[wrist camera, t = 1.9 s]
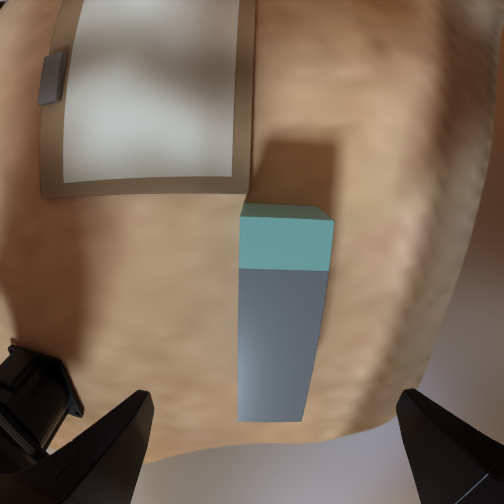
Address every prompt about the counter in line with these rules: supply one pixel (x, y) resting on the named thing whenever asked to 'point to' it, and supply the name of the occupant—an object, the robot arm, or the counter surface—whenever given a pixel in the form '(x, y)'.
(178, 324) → the counter surface
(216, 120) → the clipboard
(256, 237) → the teal-capped grey block
